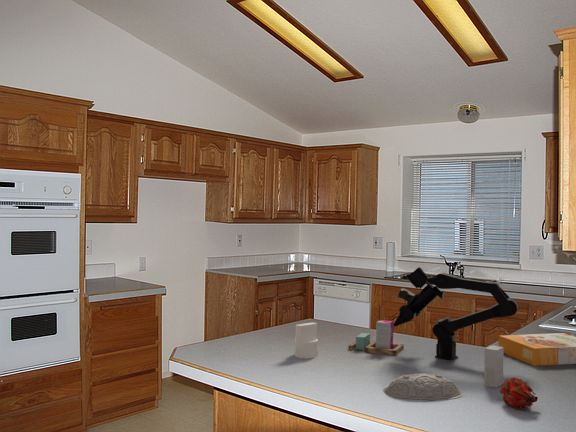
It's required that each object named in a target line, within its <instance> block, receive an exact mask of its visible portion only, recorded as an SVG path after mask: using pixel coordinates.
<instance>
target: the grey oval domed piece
mask: <svg viewBox="0 0 576 432" xmlns="http://www.w3.org/2000/svg"><path fill="white" fill-rule="evenodd" d="M382 392H383V393H384V394H385V395H387V396H389V397H393V398H395V399H400V400H401V399H402V400H407V401H425V402H427V401H440V400H442V401H444V400H453V399H458V398H461V397H463V395H464V394H463V393H462V392H461V391H460V389H459V388H458V387H457V385H456V384H455V383H454V382H453V381H452V380H450V379H448V378H445V377H442V375H440V374H433V373H409V374H403V375H401V376H399V377H396V378H395V379H394V380H392V381H390V382H389V384H388V386H386V387H384V388H383V389H382Z"/></svg>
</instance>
